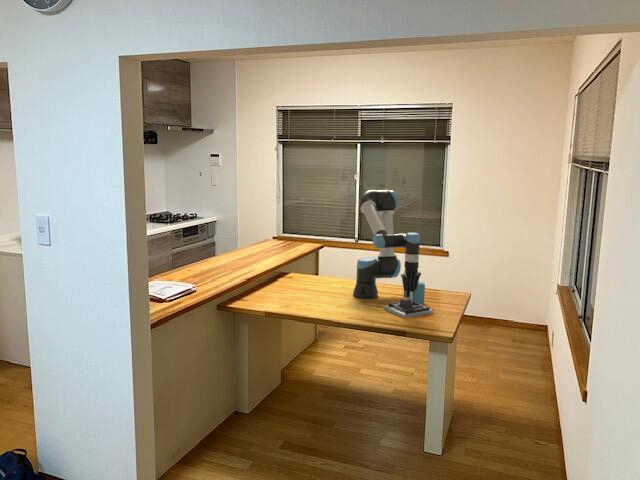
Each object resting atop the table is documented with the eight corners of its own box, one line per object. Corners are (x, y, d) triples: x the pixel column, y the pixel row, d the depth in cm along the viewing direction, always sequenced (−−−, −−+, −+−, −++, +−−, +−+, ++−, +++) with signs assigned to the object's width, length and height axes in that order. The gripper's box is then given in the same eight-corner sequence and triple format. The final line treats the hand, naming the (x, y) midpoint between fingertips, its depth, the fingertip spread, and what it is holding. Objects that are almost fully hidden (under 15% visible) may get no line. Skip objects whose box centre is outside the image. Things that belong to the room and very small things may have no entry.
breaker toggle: (399, 307, 296) (400, 297, 295) (405, 306, 298) (405, 297, 297) (405, 309, 292) (406, 300, 291) (411, 308, 294) (411, 299, 293)
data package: (424, 302, 315) (425, 282, 313) (424, 304, 310) (425, 284, 308) (403, 300, 317) (404, 281, 315) (403, 302, 312) (404, 283, 310)
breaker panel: (383, 309, 299) (384, 303, 298) (411, 304, 309) (411, 298, 308) (404, 318, 284) (404, 311, 283) (432, 313, 294) (433, 306, 293)
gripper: (406, 263, 285) (404, 305, 290) (425, 261, 292) (423, 302, 296) (398, 260, 292) (396, 302, 296) (416, 258, 298) (414, 299, 302)
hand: (409, 302), depth 296 cm, fingers closed
